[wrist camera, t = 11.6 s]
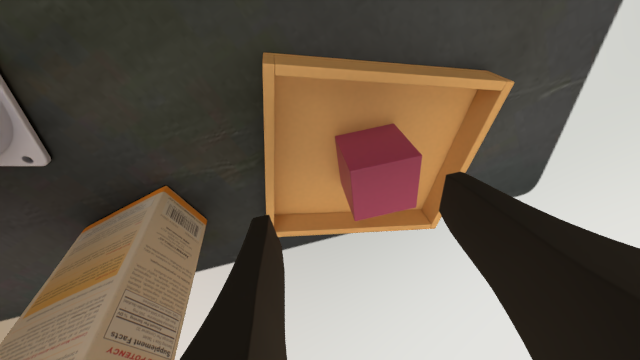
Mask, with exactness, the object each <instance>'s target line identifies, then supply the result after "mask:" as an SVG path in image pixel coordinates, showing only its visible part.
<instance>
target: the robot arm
mask: <svg viewBox="0 0 640 360" xmlns="http://www.w3.org/2000/svg"><path fill="white" fill-rule="evenodd" d="M28 157H30V158H31V159H32V160H31V159H29V158H28ZM49 162H51V157H50V156H49V154H48V152H47V151H46V149H45V147H44V146H43V144H42V142H41V141H40V139H39V137H38V136H37V134H36V133H35V131H34V129H33V128H32V126H31V124H30V123H29V121H28V119H27V118H26V116H25V114H24V113H23V111H22V109H21V108H20V106H19V105H18V103H17V101H16V100H15V98H14V96H13V95H12V93H11V91H10V90H9V88H8V86H7V85H6V83H5V81H4V80H3V78H2V77H1V75H0V166H45V165H47V164H48V163H49ZM439 212H440V214H441V216H442V217H443V219H444V221H445V223H446V225H447V227H448V228H449V230H450V232H451V233H452V235H453V236H454V237H455V239H456V240H457V241H458V243H459V244H460V246H461V247H462V248H463V250H464V251H465V252H466V254H467V255H468V256H469V258H470V259H471V260H472V262H473V263H474V265H475V266H476V267H477V268H478V270H479V271H480V273H481V274H482V275H483V277H484V278H485V279H486V281H487V282H488V284H489V285H490V287H491V288H492V290H493V291H494V292H495V294H496V296H497V298H498V299H499V301H500V303H501V304H502V306H503V307H504V309H505V311H506V312H507V314H508V316H509V318H510V319H511V321H512V323H513V325H514V326H515V328H516V330H517V332H518V334H519V335H520V337H521V339H522V340H523V342H524V344H525V346H526V348H527V350H528V352H529V354H530V356H531V357H532V359H533V360H640V249H639V248H636V247H633V246H630V245H627V244H624V243H621V242H618V241H615V240H612V239H610V238H607V237H604V236H601V235H598V234H596V233H593V232H591V231H588V230H585V229H583V228H580V227H578V226H575V225H572V224H570V223H568V222H565V221H563V220H560V219H558V218H556V217H554V216H551V215H549V214H547V213H545V212H542V211H540V210H538V209H536V208H533V207H532V206H529V205H527V204H525V203H523V202H521V201H519V200H517V199H515V198H513V197H511V196H509V195H507V194H505V193H503V192H501V191H499V190H497V189H495V188H493V187H491V186H489V185H487V184H485V183H483V182H481V181H479V180H477V179H476V178H474V177H472V176H469V175H467V174H465V173H463V172H461V171H460V172H456V173H451V174H447V175H446V177H445V182H444V187H443V192H442V197H441V202H440V206H439ZM284 280H285V279H284V263H283V254H282V246H281V244H280V241H279V239H278V236H277V234H276V231H275V228H274V226H273V223H272V221H271V218H270V216H269V215H264V216H260V217H256V218H253V219H252V221H251V224H250V227H249V230H248V232H247V235H246V238H245V240H244V243H243V245H242V248H241V250H240V252H239V255H238V257H237V259H236V261H235V264H234V266H233V268H232V270H231V272H230V274H229V277H228V278H227V280H226V283H225V284H224V287H223V288H222V290H221V292H220V294H219V296H218V298H217V300H216V302H215V303H214V306H213V307H212V309H211V311H210V312H209V314H208V316H207V317H206V319H205V321H204V323H203V324H202V326H201V328H200V329H199V331H198V332H197V334H196V336H195V337H194V338H193V340H192V342H191V343H190V345H189V346H188V348H187V349H186V351H185V352H184V354H183V355H182V357H181V358H180V360H287V355H286V344H285V299H284V298H285V284H284V283H285V282H284Z"/></svg>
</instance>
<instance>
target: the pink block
mask: <svg viewBox="0 0 640 360" xmlns="http://www.w3.org/2000/svg"><path fill="white" fill-rule="evenodd" d="M335 143H336V150H337V158H338V166H339V173H340V181H341V185H342V187H343V190H344V193H345V196H346V198H347V201H348V204H349V207H350V209H351V212H352V215H353V218H354V220H355V221H359V220H364V219H368V218H372V217H377V216H381V215H385V214H390V213H394V212H398V211H403V210H407V209H412V208H416V205H417V196H418V188H419V180H420V171H421V163H422V154H421V153H420V152H419V151H418V150H417V149H416V148H415V147H414V145H413V144H412V143H411V142H410V141H409V140H408V139H407V138H406V136H405V135H404V134H403V133H402V132H401V131H400V130H399V129H398V127H397V126H396V125H395V124H388V125H384V126H379V127H375V128H370V129H366V130H361V131H356V132H352V133H347V134H343V135H338V136H335Z"/></svg>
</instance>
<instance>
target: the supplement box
mask: <svg viewBox="0 0 640 360" xmlns="http://www.w3.org/2000/svg"><path fill="white" fill-rule="evenodd" d="M206 224H207V219H205V217H203V216H202V215H201V214H200V213H199V212H197V211H196V210H195V209H194V208H193V207H191V206H190V205H189V204H188V203H186V202H185V201H184V200H183V199H182V198H181V197H180V196H178V195H177V194H176V193H175V192H173V191H172V190H171V189H170V188H169V187H167V186H164V187H162V188H160V189H158V190H156V191H154V192H152V193H150V194H149V195H147V196H145V197H143V198H141V199H139V200H137V201H135V202H133V203H131V204H129V205H127V206H125V207H124V208H122V209H120V210H118V211H116V212H114V213H112V214H111V215H109V216H107V217H105V218H103V219H101V220H99V221H97V222H95V223H94V224H91V225H90V226H88V227H86V228H85V229H84V230H83V231H82V233H81V234H80V236H79V237H78V238H77V240H76V241H75V242H74V244H73V245H72V247H71V248H70V249H69V251H68V252H67V253H66V255H65V256H64V258H63V259H62V260H61V262H60V263H59V265H58V266H57V267H56V269H55V270H54V271H53V273H52V274H51V276H50V277H49V278H48V280H47V281H46V282H45V284H44V285H43V287H42V288H41V289H40V291H39V292H38V293H37V295H36V296H35V297H34V299H33V300H32V301H31V303H30V304H29V306H28V307H27V308H26V310H25V311H24V312H23V314H22V315H21V316H20V318H19V319H18V321H17V322H16V323H15V325H14V326H13V328H12V329H11V330H10V332H9V333H8V334H7V336H6V337H5V338H4V340H3V341H2V343H1V344H0V360H174V359H175V354H176V350H177V345H178V341H179V337H180V333H181V329H182V325H183V321H184V316H185V312H186V308H187V304H188V299H189V295H190V291H191V287H192V283H193V278H194V275H195V270H196V266H197V262H198V257H199V253H200V248H201V245H202V241H203V237H204V232H205V228H206Z"/></svg>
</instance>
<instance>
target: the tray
mask: <svg viewBox="0 0 640 360" xmlns="http://www.w3.org/2000/svg"><path fill="white" fill-rule="evenodd" d="M262 67H263V108H264V149H265V190H266V215H269V216H270V218H271V221H272V223H273V226H274V228H275V231H276V234H277V236H278V237H285V236H304V235H323V234H341V233H358V232H359V233H360V232H379V231H398V230H416V229H429V228H430V229H434V228H436V226H437V224H438V222H439V220H440V218H441V217H442V216H441V214H440V212H439V206H440V202H441V197H442V192H443V187H444V182H445V177H446V175H447V174H451V173H456V172H460V171H461V172H463V173H466V171H467V169H468V167H469V165H470V163H471V162H472V160H473V158H474V156H475V154H476V152H477V151H478V149H479V147H480V145H481V143H482V141H483V140H484V138H485V136H486V134H487V132H488V130H489V129H490V127H491V125H492V123H493V121H494V119H495V117H496V116H497V114H498V112H499V110H500V108H501V106H502V105H503V103H504V101H505V99H506V97H507V95H508V94H509V92H510V90H511V88H512V86H513V84H514V81H511V80H509V79H506V78H504V77H501V76H499V75H496V74H494V73H491V72H489V71H485V70H472V69H460V68H448V67H436V66H424V65H412V64H399V63H387V62H375V61H363V60H351V59H339V58H326V57H314V56H302V55H290V54H278V53H266V52H264V53H263V63H262ZM388 124H395V125H396V126H397V127H398V129H399V130H400V131H401V132H402V133H403V134H404V135H405V136H406V138H407V139H408V140H409V141H410V142H411V143H412V144H413V145H414V147H415V148H416V149H417V150H418V151H419V152H420V153H421V154H422V163H421V171H420V180H419V188H418V196H417V205H416V208H412V209H407V210H403V211H398V212H394V213H390V214H385V215H381V216H377V217H372V218H368V219H364V220H359V221H355V220H354V218H353V215H352V212H351V209H350V207H349V204H348V201H347V198H346V196H345V193H344V190H343V187H342V185H341V181H340V173H339V166H338V158H337V150H336V143H335V136H338V135H343V134H347V133H352V132H356V131H361V130H366V129H370V128H375V127H379V126H384V125H388Z"/></svg>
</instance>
